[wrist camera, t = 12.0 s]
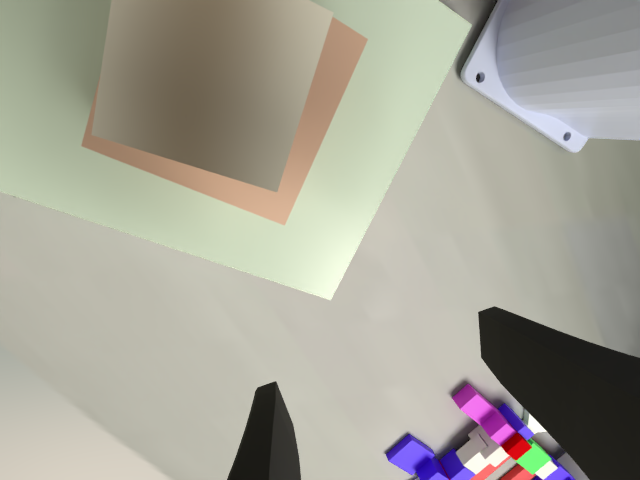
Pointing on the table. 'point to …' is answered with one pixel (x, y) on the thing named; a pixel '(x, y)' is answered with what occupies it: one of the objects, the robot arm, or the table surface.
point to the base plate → (194, 207)
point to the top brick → (210, 81)
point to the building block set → (487, 448)
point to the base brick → (314, 123)
